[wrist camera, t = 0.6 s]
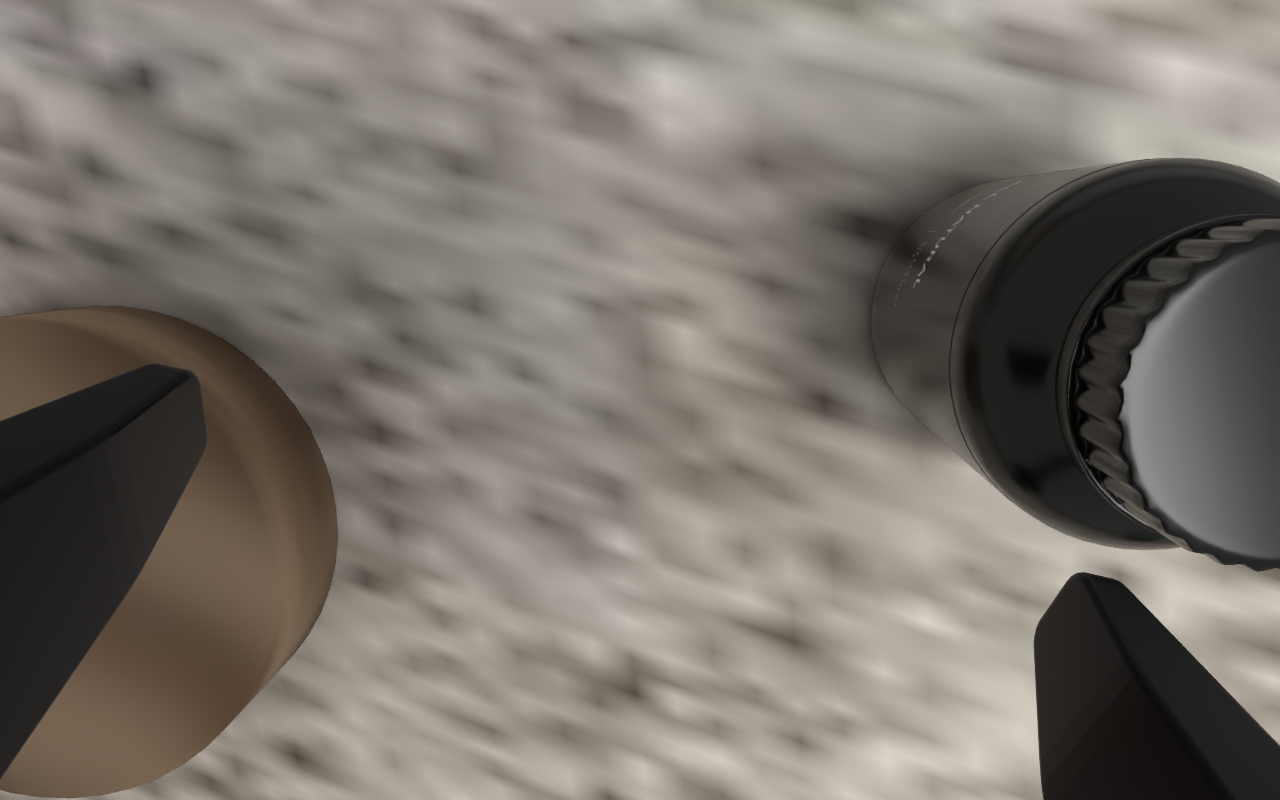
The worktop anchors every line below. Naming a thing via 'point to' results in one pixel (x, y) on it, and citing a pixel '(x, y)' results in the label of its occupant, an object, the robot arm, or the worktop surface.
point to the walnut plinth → (180, 557)
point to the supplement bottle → (1103, 349)
